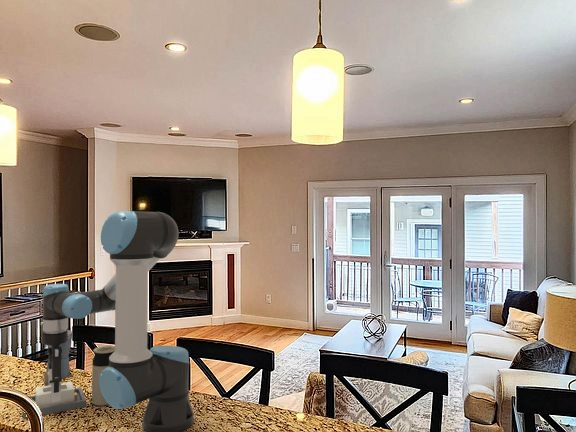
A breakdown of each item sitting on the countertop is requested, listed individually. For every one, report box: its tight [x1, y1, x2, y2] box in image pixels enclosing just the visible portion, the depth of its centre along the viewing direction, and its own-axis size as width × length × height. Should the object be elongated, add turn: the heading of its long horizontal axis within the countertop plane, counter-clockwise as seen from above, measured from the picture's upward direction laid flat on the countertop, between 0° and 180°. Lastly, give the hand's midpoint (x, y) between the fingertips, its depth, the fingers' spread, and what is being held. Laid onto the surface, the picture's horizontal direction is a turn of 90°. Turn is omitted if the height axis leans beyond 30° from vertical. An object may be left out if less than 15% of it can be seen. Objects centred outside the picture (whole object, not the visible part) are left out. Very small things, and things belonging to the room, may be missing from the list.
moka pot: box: [45, 329, 74, 380], centre depth 176 cm, size 10×15×20 cm, turn 60°
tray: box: [22, 387, 87, 419], centre depth 149 cm, size 13×18×2 cm
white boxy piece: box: [34, 381, 77, 408], centre depth 149 cm, size 12×8×5 cm, turn 122°
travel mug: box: [91, 345, 115, 407], centre depth 152 cm, size 8×8×18 cm
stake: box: [43, 371, 49, 386], centre depth 160 cm, size 3×3×7 cm
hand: (54, 394), depth 149 cm, fingers open, 13 cm apart
